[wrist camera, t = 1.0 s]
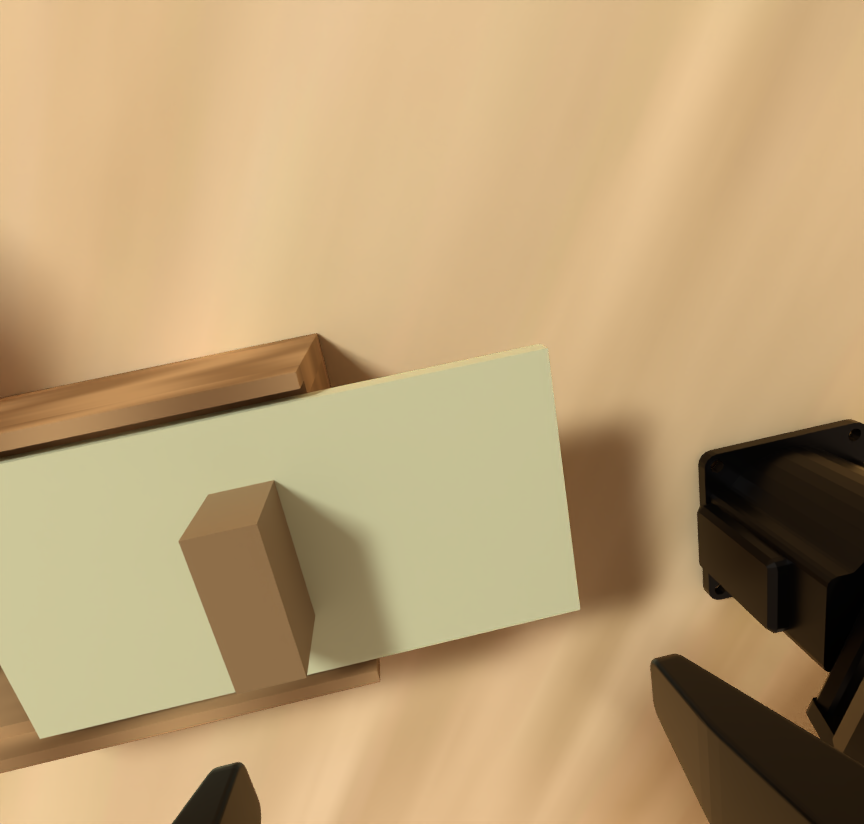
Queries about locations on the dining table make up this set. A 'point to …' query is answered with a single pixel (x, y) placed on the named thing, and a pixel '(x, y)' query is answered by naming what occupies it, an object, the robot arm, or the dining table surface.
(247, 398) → the box
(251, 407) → the lid
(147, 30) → the dining table surface
